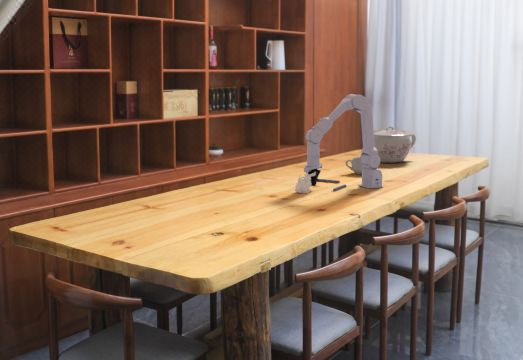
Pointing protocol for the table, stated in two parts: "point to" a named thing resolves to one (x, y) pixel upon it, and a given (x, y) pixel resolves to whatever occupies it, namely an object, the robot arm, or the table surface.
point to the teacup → (355, 165)
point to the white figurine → (304, 183)
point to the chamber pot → (393, 144)
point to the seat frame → (333, 182)
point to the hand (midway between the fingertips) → (313, 185)
